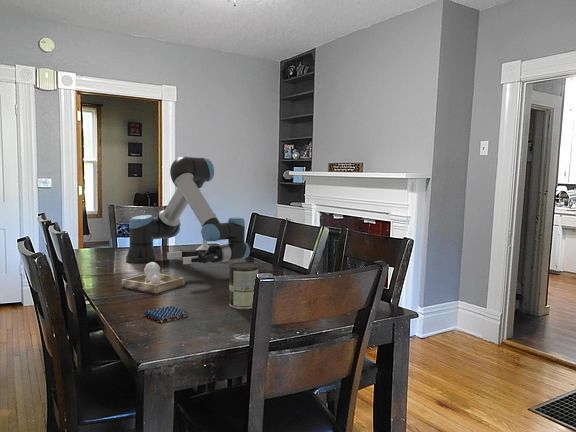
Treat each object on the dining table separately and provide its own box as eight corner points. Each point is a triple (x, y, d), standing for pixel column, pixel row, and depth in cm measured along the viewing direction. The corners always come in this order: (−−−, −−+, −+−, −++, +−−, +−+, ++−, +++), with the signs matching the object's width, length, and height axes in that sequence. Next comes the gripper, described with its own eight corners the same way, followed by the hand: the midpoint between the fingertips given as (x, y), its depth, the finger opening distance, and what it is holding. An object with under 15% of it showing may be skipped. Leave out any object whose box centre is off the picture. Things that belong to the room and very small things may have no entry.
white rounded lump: (159, 260, 178) (165, 268, 168) (159, 280, 180) (164, 289, 169) (143, 261, 175) (148, 269, 165) (143, 281, 177) (147, 291, 166)
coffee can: (222, 305, 151) (222, 264, 149) (243, 299, 159) (244, 261, 157) (243, 311, 144) (244, 269, 143) (264, 304, 152) (265, 265, 151)
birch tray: (121, 287, 172) (121, 279, 171) (151, 279, 186) (151, 272, 185) (155, 293, 163) (155, 285, 163) (184, 284, 178) (184, 277, 177)
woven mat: (190, 317, 138) (190, 311, 138) (160, 325, 130) (160, 318, 130) (171, 310, 145) (171, 304, 145) (142, 317, 137) (142, 310, 137)
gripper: (234, 266, 186) (190, 272, 171) (203, 257, 204) (161, 262, 190) (235, 248, 185) (190, 253, 171) (203, 241, 203) (161, 245, 189)
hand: (175, 258), depth 180 cm, fingers open, 13 cm apart
